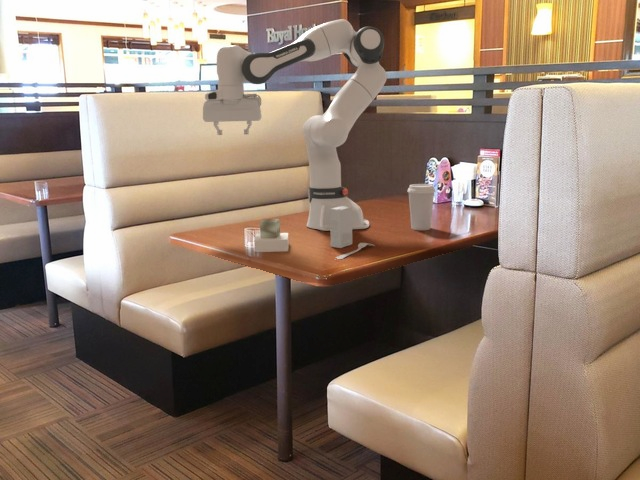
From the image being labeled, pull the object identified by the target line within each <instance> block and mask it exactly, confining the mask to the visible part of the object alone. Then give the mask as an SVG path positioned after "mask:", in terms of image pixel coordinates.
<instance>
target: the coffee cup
mask: <svg viewBox="0 0 640 480" xmlns="http://www.w3.org/2000/svg"><path fill="white" fill-rule="evenodd" d="M407 193H408V201H409V204H408V205H409V211H410V212H409V215H410V226H411V230H414V231H428V230H431V227H432V226H431V225H432V217H433V216H432V215H433V207H434V206H433V205H434V196H435V193H436V189H435V187H434V185H433V184H430V183H414V184H409V187H408V188H407Z"/></svg>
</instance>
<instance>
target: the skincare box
mask: <svg viewBox="0 0 640 480" xmlns="http://www.w3.org/2000/svg"><path fill="white" fill-rule="evenodd" d="M329 234H330V247H331V248H337V249H342V248H345V247H348V246H351V245H353V229H352V207H348V206H340V207H336V208H332V209H330V233H329Z"/></svg>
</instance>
